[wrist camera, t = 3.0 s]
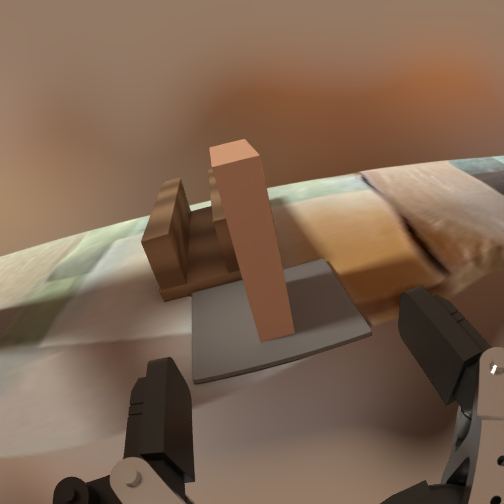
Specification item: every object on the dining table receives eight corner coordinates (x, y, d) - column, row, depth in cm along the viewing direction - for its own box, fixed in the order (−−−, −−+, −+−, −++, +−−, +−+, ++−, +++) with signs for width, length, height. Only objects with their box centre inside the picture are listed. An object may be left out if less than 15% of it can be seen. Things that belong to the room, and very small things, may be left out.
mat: (371, 335, 20) (372, 331, 20) (194, 384, 20) (192, 380, 19) (323, 261, 29) (323, 258, 28) (193, 296, 28) (191, 292, 28)
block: (294, 333, 21) (259, 155, 16) (260, 342, 21) (212, 167, 15) (276, 284, 27) (244, 139, 21) (248, 292, 26) (209, 147, 21)
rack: (260, 276, 29) (244, 213, 26) (163, 301, 29) (138, 242, 26) (238, 207, 45) (227, 164, 42) (175, 224, 44) (162, 183, 41)
